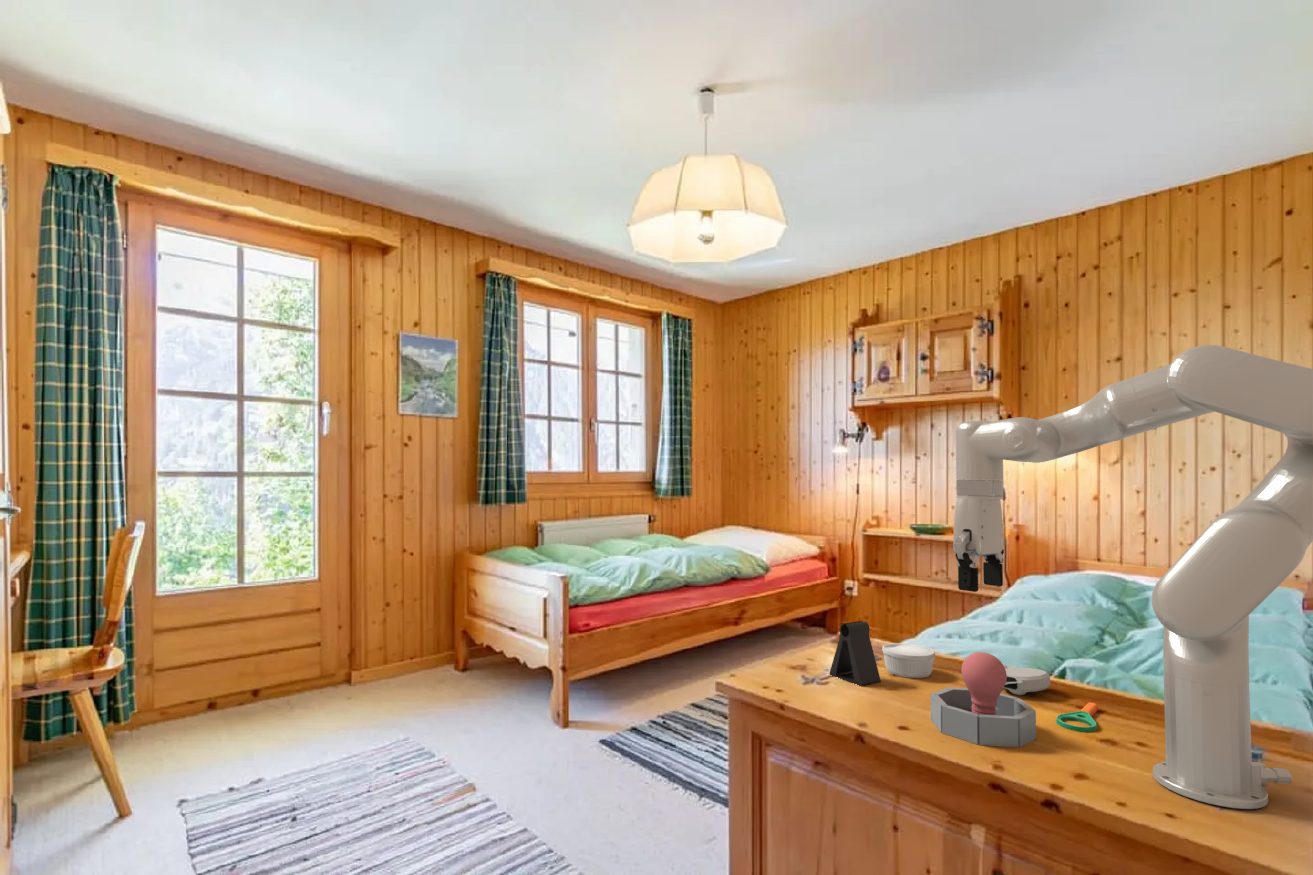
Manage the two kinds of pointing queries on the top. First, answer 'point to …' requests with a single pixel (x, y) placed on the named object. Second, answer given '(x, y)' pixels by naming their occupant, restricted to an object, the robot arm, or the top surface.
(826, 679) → the top surface
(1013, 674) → the robot toy
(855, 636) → the phone stand
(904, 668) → the ramekin
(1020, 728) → the ceramic bowl
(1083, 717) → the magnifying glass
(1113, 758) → the top surface
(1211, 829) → the top surface
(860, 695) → the top surface
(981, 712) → the light bulb
